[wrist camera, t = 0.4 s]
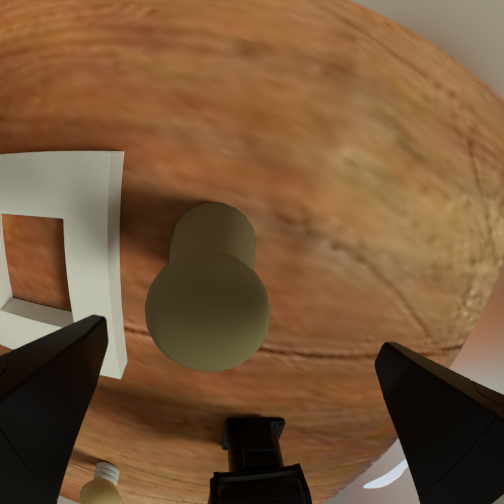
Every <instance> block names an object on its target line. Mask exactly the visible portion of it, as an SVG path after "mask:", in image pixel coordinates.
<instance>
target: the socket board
mask: <svg viewBox="0 0 504 504" xmlns="http://www.w3.org/2000/svg"><path fill="white" fill-rule="evenodd" d="M124 152H125V151H42V152H23V153H10V154H0V345H3V346H6V347H8V348H11V349H13V350H14V349H16V348H19V347H21V346H23V345H25V344H27V343H30V342H32V341H34V340H36V339H39V338H41V337H43V336H45V335H48V334H50V333H52V332H54V331H57V330H59V329H61V328H63V327H66V326H68V325H70V324H72V323H75V322H77V321H79V320H81V319H84V318H86V317H88V316H90V315H93V314H95V315H100V316H104V317H105V318H106V320H107V329H108V340H109V341H108V348H107V351H106V354H105V357H104V361H103V364H102V368H101V371H100V375H103V376H107V377H112V378H117V379H121V377H122V375H123V372H124V369H125V367H126V364H127V354H126V346H125V337H124V327H123V316H122V302H121V284H120V204H121V186H122V172H123V161H124ZM2 214H15V215H27V216H39V217H51V218H62V219H63V222H64V245H65V259H66V269H67V279H68V287H69V294H70V301H71V308H72V312H70V311H65V310H61V309H56V308H52V307H48V306H43V305H39V304H35V303H31V302H27V301H23V300H19V299H16V298H13V294H12V290H11V285H10V280H9V274H8V268H7V262H6V255H5V247H4V238H3V227H2Z"/></svg>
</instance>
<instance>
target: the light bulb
mask: <svg viewBox="0 0 504 504" xmlns="http://www.w3.org/2000/svg"><path fill="white" fill-rule="evenodd" d="M118 475H119V470H118V469H117V468H116V467H115V466H114V465H112V464H110V463H107V462H99V463H97V465H96V469H95V473H94V478H95V479H94V480H92V481H90V482H88V483H86V484H85V485H84V486H83V487H82V489H81V491H80V500H81V503H82V504H123V503H122V499H121V496H120V494H119V492H118V491H117V489H116V487H115V486H116V485H117V480H118Z"/></svg>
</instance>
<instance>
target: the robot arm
mask: <svg viewBox="0 0 504 504" xmlns="http://www.w3.org/2000/svg"><path fill="white" fill-rule="evenodd" d="M108 341H109V340H108V329H107V320H106V318H105V317H104V316H100V315H95V314H93V315H90V316H88V317H86V318H84V319H81V320H79V321H77V322H75V323H72V324H70V325H68V326H66V327H63V328H61V329H59V330H57V331H54V332H52V333H50V334H48V335H45V336H43V337H41V338H39V339H36V340H34V341H32V342H30V343H27V344H25V345H23V346H21V347H19V348H16V349H14V350H12V351H10V352H9V353H5V354H3V355H1V356H0V504H57V499H58V497H59V493H60V489H61V486H62V482H63V479H64V475H65V472H66V469H67V466H68V462H69V459H70V456H71V453H72V450H73V447H74V444H75V441H76V438H77V435H78V433H79V430H80V427H81V424H82V422H83V419H84V416H85V414H86V411H87V408H88V406H89V403H90V401H91V398H92V396H93V393H94V391H95V388H96V385H97V382H98V378H99V375H100V371H101V368H102V364H103V361H104V357H105V354H106V351H107V348H108ZM375 369H376V373H377V376H378V380H379V383H380V386H381V390H382V393H383V397H384V400H385V403H386V406H387V409H388V411H389V414H390V416H391V419H392V421H393V424H394V427H395V429H396V432H397V435H398V438H399V440H400V443H401V445H402V449H403V451H404V454H405V457H406V460H407V463H408V466H409V469H410V472H411V475H412V478H413V481H414V484H415V487H416V490H417V494H418V496H419V501H420V504H504V395H503V394H501V393H498V392H496V391H494V390H491V389H489V388H487V387H485V386H483V385H481V384H478V383H476V382H474V381H471V380H470V379H468V378H466V377H464V376H462V375H460V374H458V373H456V372H454V371H452V370H450V369H448V368H446V367H444V366H442V365H440V364H438V363H436V362H434V361H432V360H430V359H428V358H426V357H424V356H422V355H420V354H418V353H416V352H414V351H412V350H410V349H408V348H406V347H404V346H402V345H400V344H398V343H396V342H385V343H384V344H383V345H382V347H381V349H380V352H379V354H378V356H377V358H376V360H375ZM284 426H285V420H284V419H235V418H229V419H226V421H225V427H224V433H223V440H222V449H223V450H228V463H229V472H222V473H219V472H214V477H213V478H211V479H210V494H209V500H208V504H312V500H311V495H310V491H309V488H308V485H307V483H306V480H305V477H304V474H303V472H302V469H301V466H300V463H298V464H294V465H291V466H284V464H283V459H282V455H281V450H280V445H279V438H280V435H281V433H282V431H283V428H284Z"/></svg>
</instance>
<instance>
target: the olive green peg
mask: <svg viewBox="0 0 504 504" xmlns="http://www.w3.org/2000/svg"><path fill="white" fill-rule="evenodd" d="M255 244H256V239H255V235H254V231H253V227H252V226H251V224H250V223H249V221H248V219H247V218H246V216H244V215H243V214H242V213H241V212H240V211H238V210H237V209H236V208H234V207H231V206H229V205H226V204H224V203H211V202H208V203H204V204H201V205H197V206H195V207H193V208H191V209H190V210H188V211H187V212H185V213H184V214H183V215H182V217H181V218H180V219H179V221H178V222H177V223H176V225H175V228H174V231H173V234H172V239H171V247H170V255H169V263H168V264H167V265H166V266H164V267H163V269H162V270H161V271H160V273H159V274H158V275H157V276H156V278H155V279H154V281H153V282H152V284H151V286H150V288H149V292H148V296H147V299H146V303H145V312H146V322H147V328H148V330H149V332H150V334H151V336H152V339H153V341H154V342H155V344H156V345H157V347H158V348H159V349H160V350H161V351H162V352H163V353H164V354H165V355H166V356H167V357H168V358H169V359H171V360H172V361H174V362H176V363H177V364H179V365H181V366H182V367H186V368H189V369H193V370H196V371H206V372H216V371H221V370H226V369H231V368H233V367H235V366H237V365H239V364H241V363H243V362H245V361H246V360H247V359H248V358H249V357H250V356H251V355H252V354H253V353H255V352H256V351H257V349H258V348H259V347H260V346H261V344H262V342H263V340H264V339H265V337H266V335H267V333H268V327H269V320H270V312H271V308H270V304H269V300H268V296H267V292H266V289H265V286H264V285H263V283H262V282H261V280H260V279H259V277H258V276H257V274H256V273H255V271H254V260H255Z"/></svg>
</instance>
